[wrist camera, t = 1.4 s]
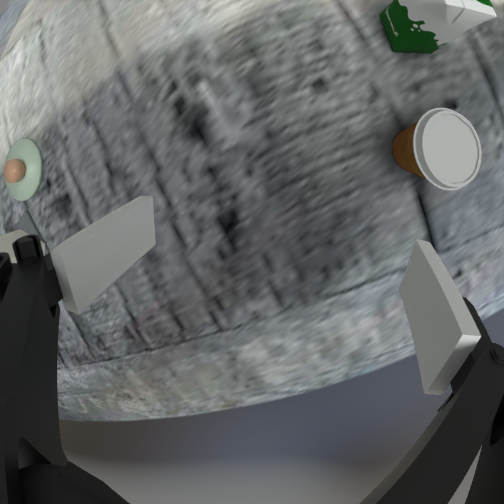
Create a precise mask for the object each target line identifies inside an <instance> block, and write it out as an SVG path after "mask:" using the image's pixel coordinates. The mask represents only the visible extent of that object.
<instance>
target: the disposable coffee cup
mask: <svg viewBox="0 0 504 504" xmlns="http://www.w3.org/2000/svg"><path fill="white" fill-rule="evenodd" d="M393 155H394V158H395V160H396V162H397V163H398V165H399V166H400V167H401V168H403V169H404V170H406V171H408V172H411V173H413V174H416V175H418V176H420V177H423V178H425V179H427V180H428V181H429V182H431V183H432V184H433V185H435V186H436V187H438V188H440V189H444V190H451V191H452V190H458V189H460V188H462V187H464V186H465V185H467V184H468V183H470V182H471V181H472V180H473V179H474V178H475V176H476V174H477V172H478V171H479V167H480V163H481V145H480V141H479V138H478V135H477V133H476V131H475V129H474V128H473V126H472V124H471V123H470V122H469V121H468V120H467V119H466V118H465V117H463V116H462V115H461V114H459V113H457V112H455V111H453V110H450V109H447V108H435V109H432V110H430V111H428V112H426V113H425V114H424V115H423V116H422V117H421V118H420V120H419V121H418V122H416V123H414V124H413V125H411V126H410V127H408V128H406V129H405V130H403V131H401V132H400V133H399V134H398V135H397V136H396V137H395V139H394V142H393Z"/></svg>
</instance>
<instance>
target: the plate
mask: <svg viewBox="0 0 504 504" xmlns="http://www.w3.org/2000/svg"><path fill="white" fill-rule="evenodd" d="M11 159H19V160H21V162H23V163H24V164H25V167H26V172H25V175H24V177H23V178H21V180H20V181H19V182H15V183H8V182H7V181H6V179H5V181H6V185H7V188H8V191H9V193H10V194H11V195H12V197H13V198H15V199H16V200H18V201H25V200H28V199H30V198H32V197H33V196H34V195H35V193H36V192H37V190H38V188H39V186H40V183H41V179H42V173H43V161H42V155H41V152H40V149H39V147H38V145H37V144H36V143H35V142H34V141H33V140H31V139H20V140H18V141H17V142H16V143H15V144H14V145H13V146H12V147H11V149H10V151H9V153H8V155H7V158H6V163H7V161H8V160H11ZM6 163H5V165H6Z"/></svg>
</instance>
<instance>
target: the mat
mask: <svg viewBox="0 0 504 504" xmlns="http://www.w3.org/2000/svg"><path fill="white" fill-rule="evenodd" d="M19 229H21V230H23V231H25V232H26V233H28V234H30V235H31V234H35V235H38V236H39V237H40V241H42V242H44V240H43V238H42V236H41V235H40V233H39V231H38V229H37V227H36V225H35V223H34V222H33V220H32V218H31V216H30V214H29V212H28V211H26V212H25V213H24V214H23V216H22V217H21V219H20V220H19V222H18V223H17V225H16V226H15V227H14V229H13V230H12V232H13V231H16V230H19ZM44 243H45V242H44ZM49 252H50V250H49V249H48V247H47V245H46V243H45V252H44V256H45V255H46V254H47V253H49Z"/></svg>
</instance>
